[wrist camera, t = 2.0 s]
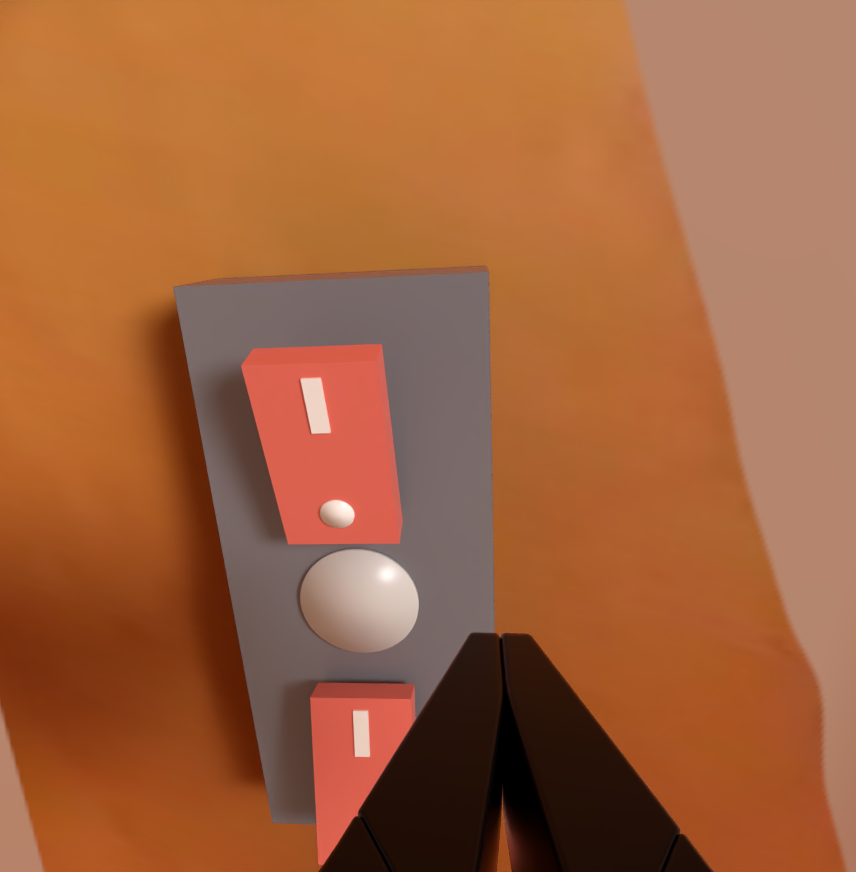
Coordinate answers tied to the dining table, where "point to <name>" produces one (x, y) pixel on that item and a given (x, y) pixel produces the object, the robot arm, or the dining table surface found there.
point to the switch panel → (349, 563)
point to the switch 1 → (327, 441)
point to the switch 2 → (353, 748)
